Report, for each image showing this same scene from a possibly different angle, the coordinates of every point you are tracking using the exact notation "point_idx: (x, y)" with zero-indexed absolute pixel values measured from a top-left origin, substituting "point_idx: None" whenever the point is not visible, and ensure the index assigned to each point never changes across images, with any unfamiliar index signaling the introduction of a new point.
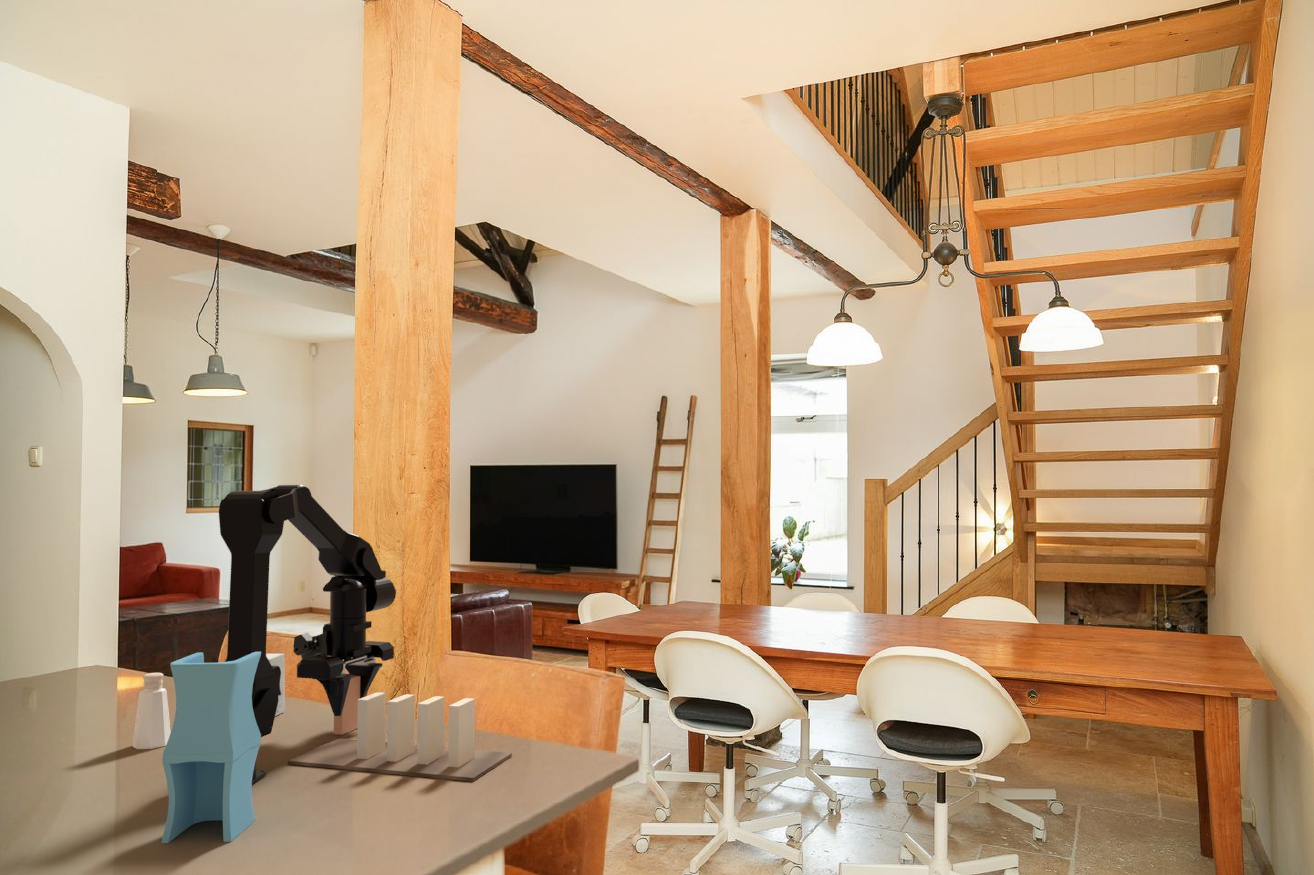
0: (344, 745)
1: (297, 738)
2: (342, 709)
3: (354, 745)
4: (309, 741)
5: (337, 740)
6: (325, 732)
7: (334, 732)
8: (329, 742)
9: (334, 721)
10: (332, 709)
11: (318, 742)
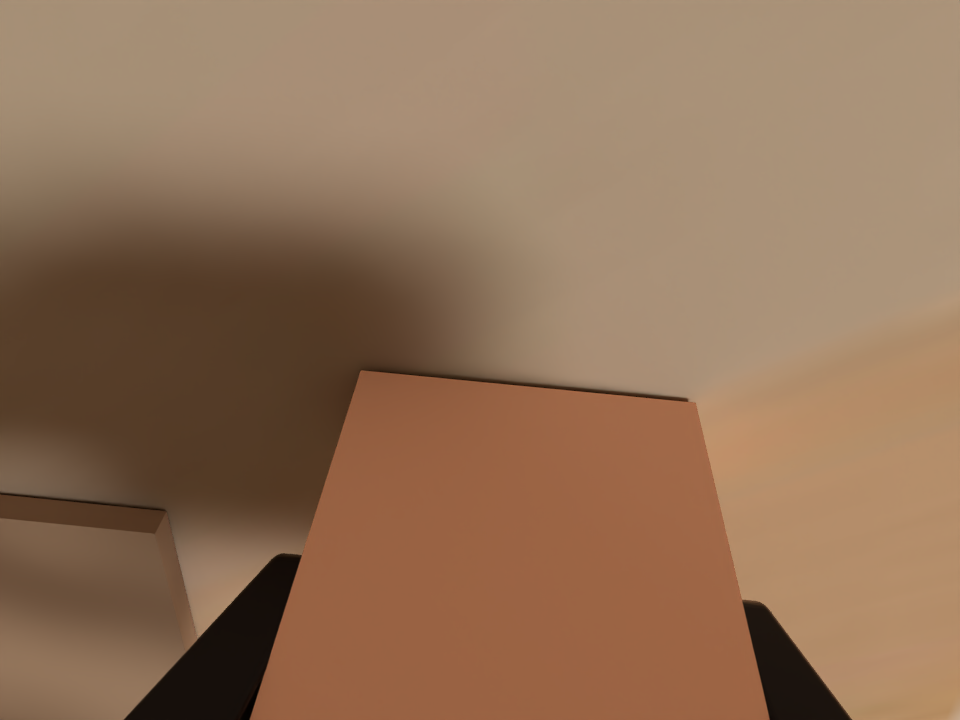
0: (21, 633)
1: (50, 38)
2: None
3: (58, 681)
4: (36, 263)
5: (98, 547)
6: (417, 239)
7: (359, 388)
8: (14, 519)
9: (331, 475)
10: (219, 619)
11: (60, 365)
